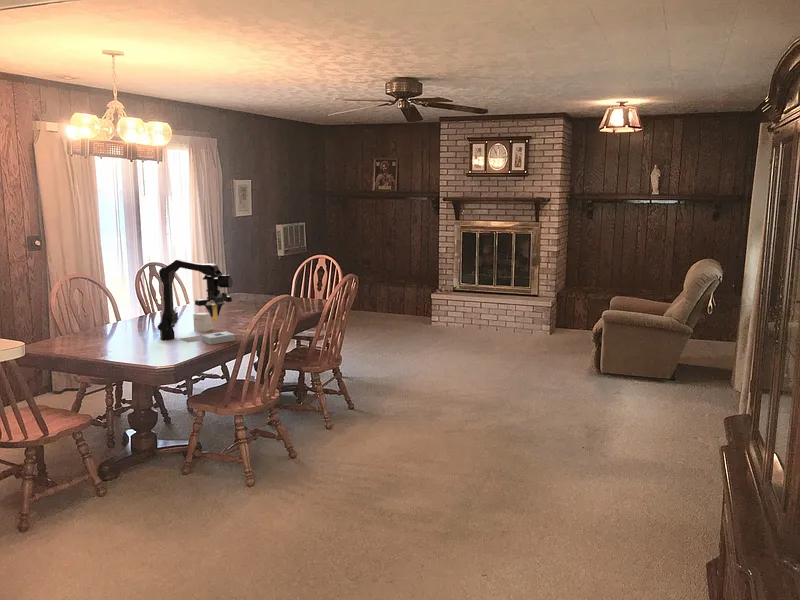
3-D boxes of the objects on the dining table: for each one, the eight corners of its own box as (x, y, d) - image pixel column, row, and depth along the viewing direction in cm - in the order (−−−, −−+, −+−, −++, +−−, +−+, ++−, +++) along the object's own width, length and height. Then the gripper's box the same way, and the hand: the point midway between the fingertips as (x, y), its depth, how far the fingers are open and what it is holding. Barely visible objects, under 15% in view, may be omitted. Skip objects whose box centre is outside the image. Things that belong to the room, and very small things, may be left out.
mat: (188, 343, 352) (188, 342, 351) (179, 339, 360) (179, 338, 360) (212, 339, 360) (212, 338, 360) (203, 336, 369) (203, 334, 369)
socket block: (210, 345, 347) (210, 338, 346) (202, 342, 354) (201, 334, 354) (235, 341, 356) (234, 334, 355) (226, 338, 363) (226, 331, 363)
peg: (213, 322, 352) (212, 305, 351) (211, 321, 355) (210, 304, 353) (218, 321, 354) (217, 304, 353) (216, 320, 357) (215, 304, 355)
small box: (211, 330, 383) (210, 312, 382) (206, 332, 378) (205, 314, 376) (199, 330, 385) (198, 312, 384) (193, 332, 380) (193, 313, 378)
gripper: (202, 291, 339) (204, 321, 342) (235, 287, 351) (237, 316, 354) (193, 289, 348) (195, 318, 350) (226, 285, 360) (228, 313, 362)
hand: (214, 316), depth 354 cm, fingers closed on peg, 3 cm apart
